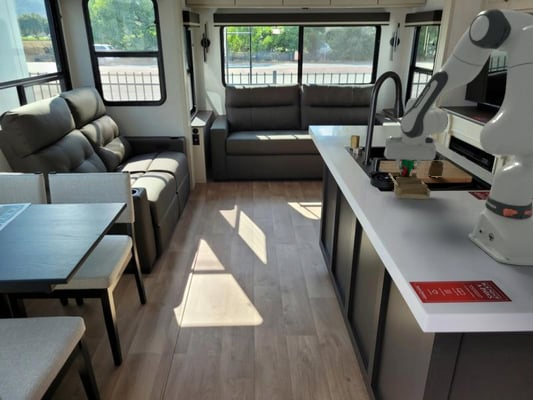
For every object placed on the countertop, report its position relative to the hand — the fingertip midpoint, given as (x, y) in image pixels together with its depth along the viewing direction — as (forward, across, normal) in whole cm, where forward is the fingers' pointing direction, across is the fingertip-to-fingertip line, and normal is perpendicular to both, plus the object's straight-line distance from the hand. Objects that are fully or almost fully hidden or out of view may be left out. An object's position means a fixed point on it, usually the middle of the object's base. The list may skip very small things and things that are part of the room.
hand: (407, 169), depth 163 cm
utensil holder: (+8, +17, +14) cm, 24 cm away
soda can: (+7, 0, 0) cm, 7 cm away
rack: (+8, 0, -4) cm, 9 cm away
